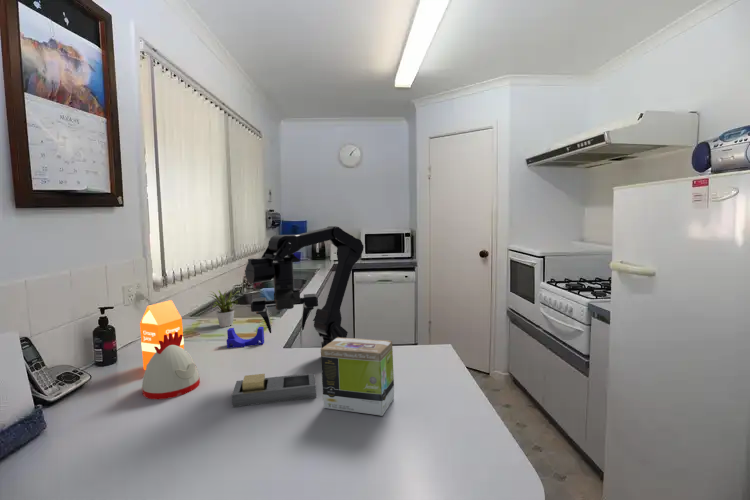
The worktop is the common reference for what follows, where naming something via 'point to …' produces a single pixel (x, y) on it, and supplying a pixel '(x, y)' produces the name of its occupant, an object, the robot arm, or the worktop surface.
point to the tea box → (358, 375)
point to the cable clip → (236, 341)
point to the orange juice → (159, 327)
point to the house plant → (224, 309)
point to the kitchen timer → (170, 371)
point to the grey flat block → (277, 390)
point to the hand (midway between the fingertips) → (286, 331)
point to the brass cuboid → (254, 382)
